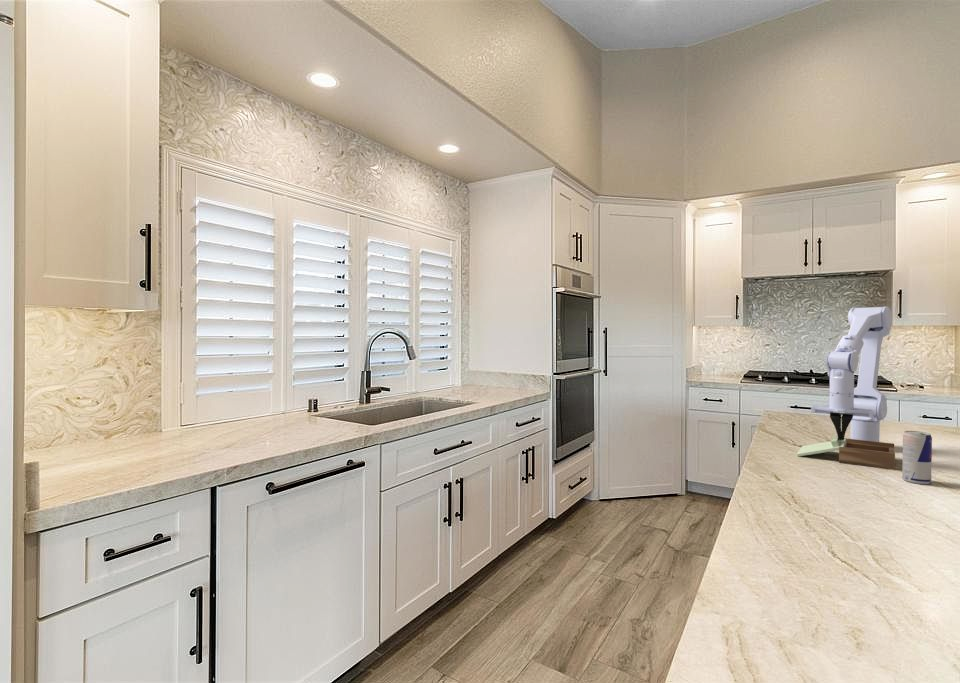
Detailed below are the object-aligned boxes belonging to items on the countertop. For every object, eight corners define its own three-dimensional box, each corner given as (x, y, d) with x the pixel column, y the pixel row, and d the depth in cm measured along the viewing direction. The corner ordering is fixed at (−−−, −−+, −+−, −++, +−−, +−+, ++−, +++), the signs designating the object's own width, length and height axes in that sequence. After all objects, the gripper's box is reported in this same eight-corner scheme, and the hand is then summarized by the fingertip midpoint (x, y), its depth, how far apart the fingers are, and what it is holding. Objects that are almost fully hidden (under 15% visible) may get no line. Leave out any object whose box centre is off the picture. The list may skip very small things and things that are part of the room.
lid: (802, 448, 155) (800, 441, 156) (846, 441, 148) (843, 433, 149) (797, 456, 146) (794, 448, 146) (844, 449, 139) (840, 441, 139)
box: (842, 452, 150) (842, 438, 150) (894, 458, 142) (894, 443, 142) (838, 462, 139) (839, 447, 139) (894, 470, 131) (895, 453, 131)
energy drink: (937, 484, 119) (938, 435, 119) (914, 484, 119) (915, 435, 119) (918, 478, 125) (918, 430, 124) (896, 478, 125) (897, 430, 124)
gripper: (810, 392, 145) (809, 438, 146) (873, 396, 136) (872, 445, 137) (812, 390, 151) (812, 434, 151) (873, 393, 142) (873, 441, 142)
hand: (841, 439), depth 144 cm, fingers closed
